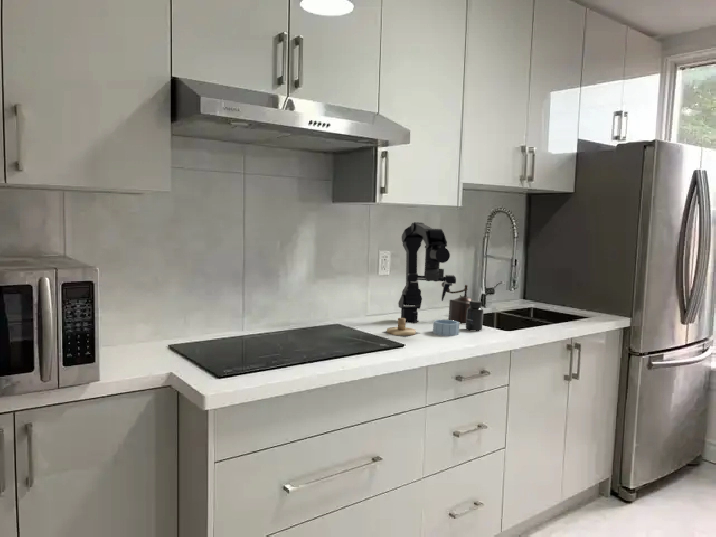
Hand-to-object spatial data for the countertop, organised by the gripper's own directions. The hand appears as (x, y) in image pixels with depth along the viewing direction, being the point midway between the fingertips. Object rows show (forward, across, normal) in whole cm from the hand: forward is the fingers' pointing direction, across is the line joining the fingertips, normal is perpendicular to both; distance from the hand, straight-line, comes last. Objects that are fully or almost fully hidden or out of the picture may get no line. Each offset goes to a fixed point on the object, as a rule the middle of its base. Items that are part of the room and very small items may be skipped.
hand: (430, 300), depth 216 cm
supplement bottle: (+14, +19, +13) cm, 27 cm away
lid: (+13, -11, -5) cm, 17 cm away
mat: (+13, -11, -5) cm, 18 cm away
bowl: (+13, +7, 0) cm, 15 cm away
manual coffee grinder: (+14, +14, +32) cm, 38 cm away
